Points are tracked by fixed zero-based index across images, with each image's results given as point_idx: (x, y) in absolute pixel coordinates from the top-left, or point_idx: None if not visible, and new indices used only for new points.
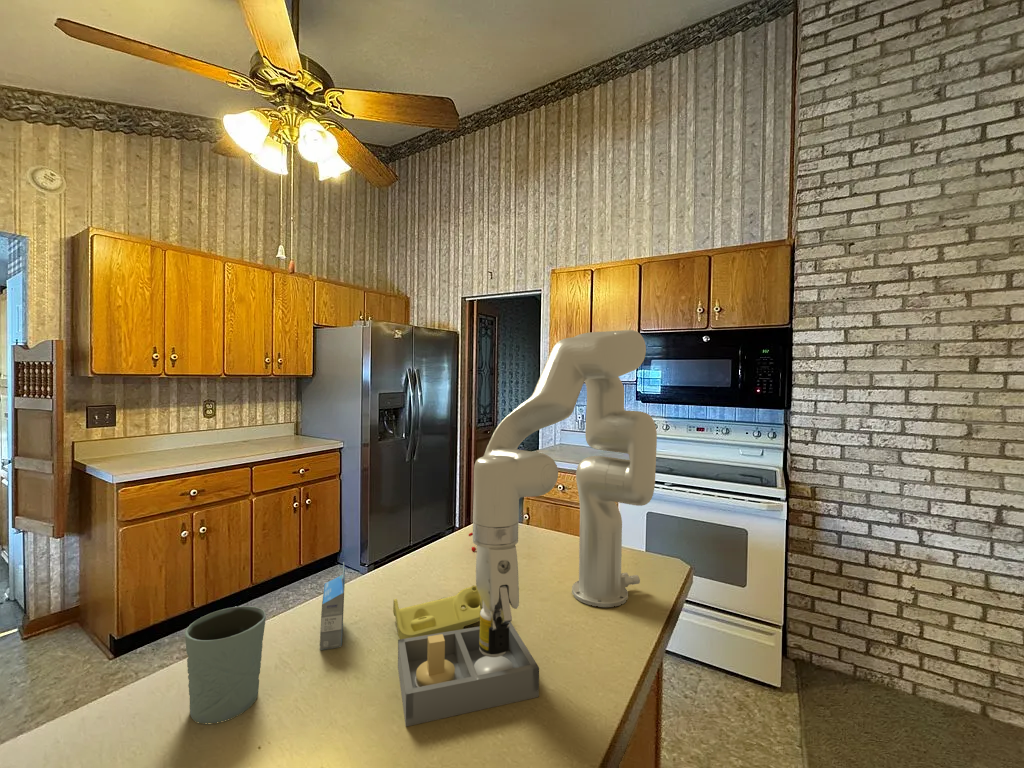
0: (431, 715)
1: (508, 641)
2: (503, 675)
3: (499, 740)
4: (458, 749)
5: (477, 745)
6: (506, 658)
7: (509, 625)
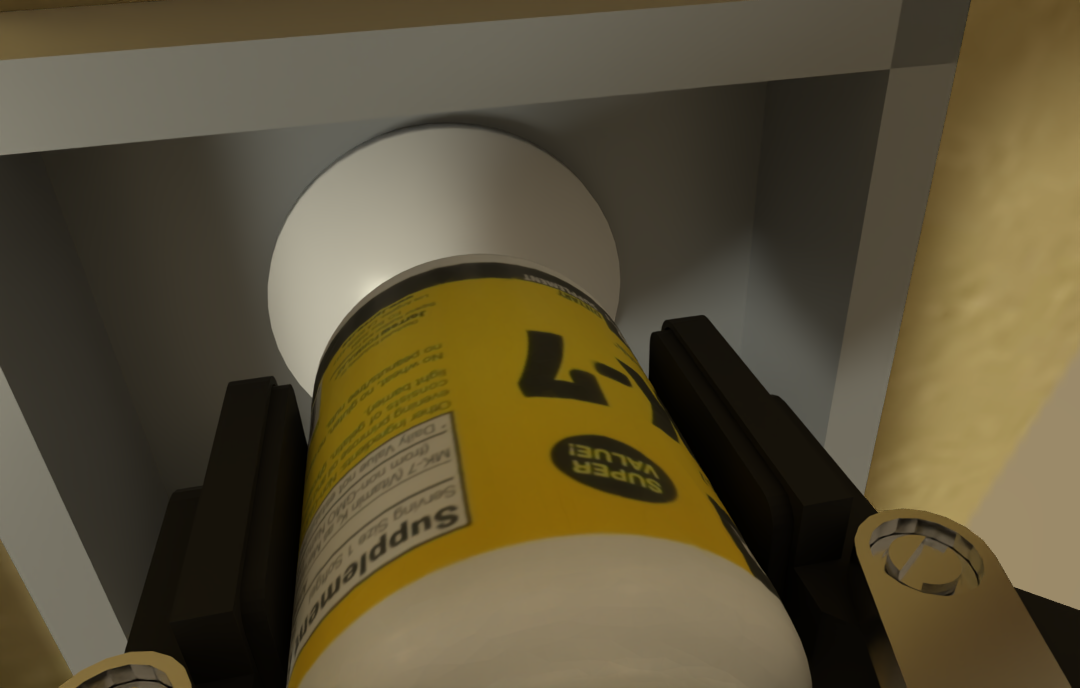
0: None
1: (748, 368)
2: (886, 354)
3: (999, 312)
4: (942, 489)
5: (967, 414)
6: (346, 166)
7: (982, 545)
